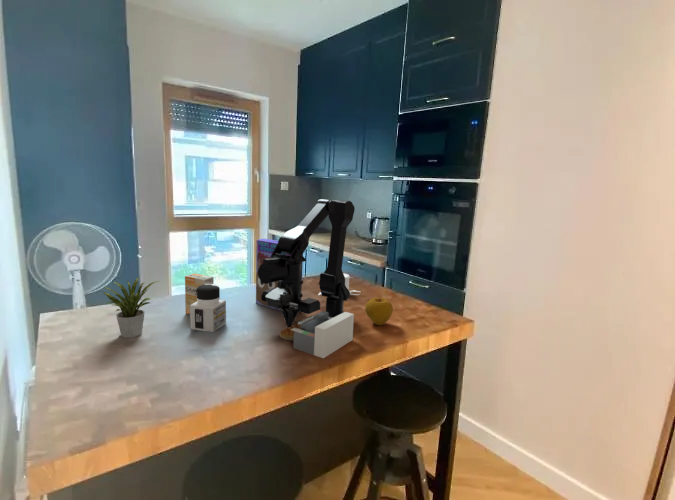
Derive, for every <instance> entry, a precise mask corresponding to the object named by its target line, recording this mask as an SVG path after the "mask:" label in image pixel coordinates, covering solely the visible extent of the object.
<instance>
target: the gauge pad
mask: <svg viewBox="0 0 675 500" xmlns="http://www.w3.org/2000/svg"><path fill="white" fill-rule="evenodd" d="M325 311H326V310H322V311H320V312H318V313H316V314H313V315H309V316H307V317H306V318H303V319H301V320H299V321H298V322H297V324H300V329H301V330H304V331H307V332H310V333H313V334H315V327H316V326H318V325H320V324H322V323H324V322H326V321H328V317H329V316H328V315H329V312H325Z"/></svg>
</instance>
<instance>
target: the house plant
mask: <svg viewBox="0 0 675 500" xmlns="http://www.w3.org/2000/svg"><path fill="white" fill-rule="evenodd" d="M139 278H140V277H137V278H136V279H135V280H134V281H133V284H132V286H131V284H130V282H129V281H128V280H126V282H127V284H128V286H127V287H128V290H127V289H126V287H125V286H124V285H123V284H121V283H119V282H117V281H112V283H114V284H116V286H117V287H118V288H120V289H121V293H122V294H123V296H122V295H121V294H120V293H118V292H116V291H115V290H114V289H111V288H109V287H106V286H104V287H103V289H104V288H105V289H107V290H110V291H111V292H112V294H115V296H114V295H112V294H110V293H108V292H103V294H104V295H105V296H106V297H107V298H108V299H109V300H110V301H108V302H106V303H105V305H107V304H110V303H112V306H114V307H115V306H116V307H118V308H117V309H116V310H115V311H114V312H118V311H120V312H118V313H116V315H115V316H116V319H117V324H118V328H119V332H120V335H121V337H122V338H125V339H128V338H130V339H131V338H136V337H138V336H141V335H142V334H143V328H144V320H145V314H146V313H145V310H143V309H140V308H141V307H143V306H145V305H148V304H151V302H149V300H151V298H150V297H146V298H144V299H142V300H141V298H142V297H143V296H144V295H145V293H146V292H147V291H148V290H149V288H150V286H152V285H153V284H155V283H159V282H160V280H158V281H157V280H156V281H153V282H150V283H149V284H148V285H146V286H144V288H143V285H144V284H145V282H142V283H140V284H139V286H138V288H137V285H138V283H139ZM136 288H137V289H136ZM116 297H117V298H116ZM118 298H119V299H118Z"/></svg>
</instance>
